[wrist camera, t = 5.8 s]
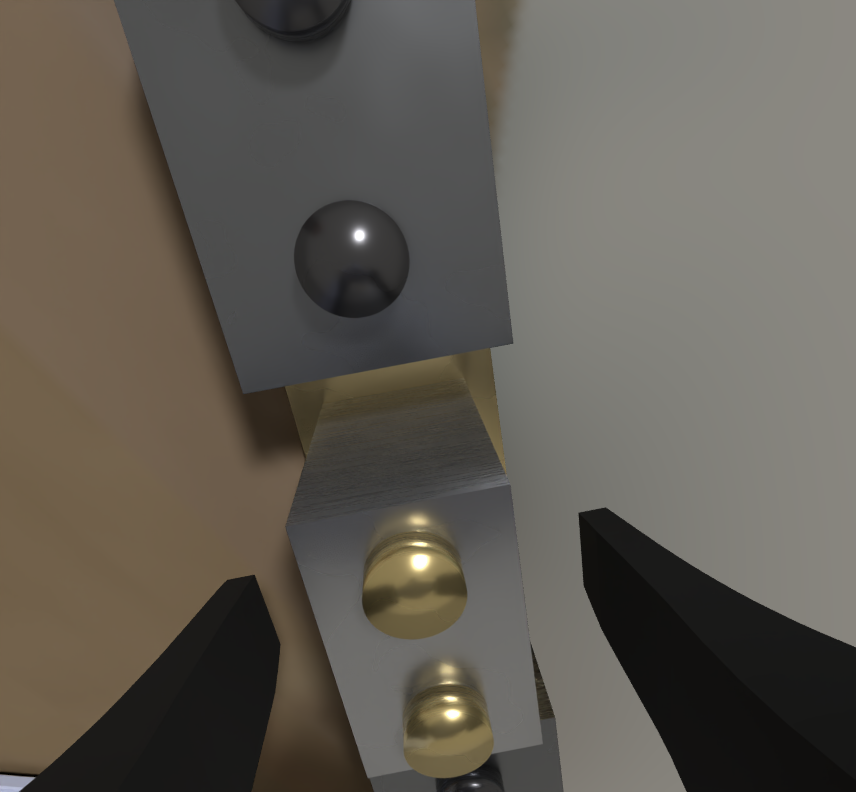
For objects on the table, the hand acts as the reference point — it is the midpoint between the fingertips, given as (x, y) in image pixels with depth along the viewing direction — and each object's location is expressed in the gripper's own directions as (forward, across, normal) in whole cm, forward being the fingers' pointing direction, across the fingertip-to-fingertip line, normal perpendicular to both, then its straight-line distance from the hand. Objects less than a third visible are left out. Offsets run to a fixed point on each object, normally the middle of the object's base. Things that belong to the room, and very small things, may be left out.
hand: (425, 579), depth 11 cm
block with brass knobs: (+3, 0, 0) cm, 3 cm away
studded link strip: (+3, 0, 0) cm, 3 cm away
